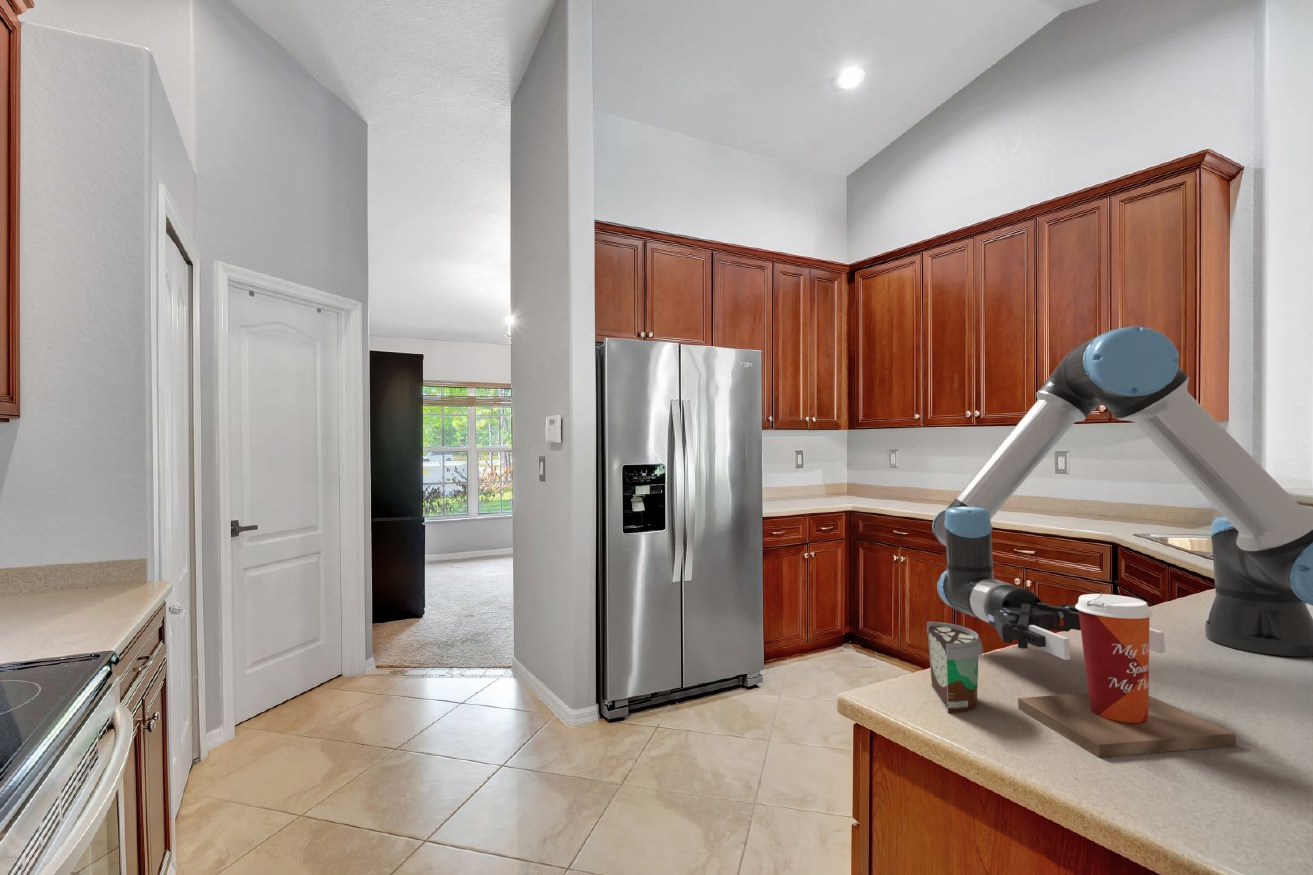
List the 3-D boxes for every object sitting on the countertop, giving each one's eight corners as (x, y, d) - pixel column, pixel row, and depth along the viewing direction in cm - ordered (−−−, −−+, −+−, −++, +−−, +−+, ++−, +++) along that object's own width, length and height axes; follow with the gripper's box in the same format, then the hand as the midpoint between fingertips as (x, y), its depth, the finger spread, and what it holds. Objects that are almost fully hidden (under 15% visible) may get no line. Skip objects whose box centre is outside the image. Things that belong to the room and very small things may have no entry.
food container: (999, 719, 83) (995, 646, 83) (951, 717, 84) (947, 644, 84) (971, 685, 95) (968, 621, 95) (929, 684, 96) (926, 620, 96)
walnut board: (1135, 699, 87) (1134, 689, 87) (1236, 745, 74) (1235, 733, 74) (1018, 708, 86) (1017, 697, 86) (1099, 757, 72) (1098, 744, 72)
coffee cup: (1136, 732, 74) (1128, 610, 75) (1067, 708, 82) (1061, 597, 82) (1173, 719, 78) (1166, 601, 78) (1104, 697, 85) (1098, 590, 86)
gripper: (1077, 624, 102) (1202, 668, 81) (937, 633, 100) (1028, 681, 78) (1074, 579, 102) (1198, 611, 81) (934, 587, 100) (1025, 622, 79)
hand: (1115, 645), depth 80 cm, fingers open, 13 cm apart
